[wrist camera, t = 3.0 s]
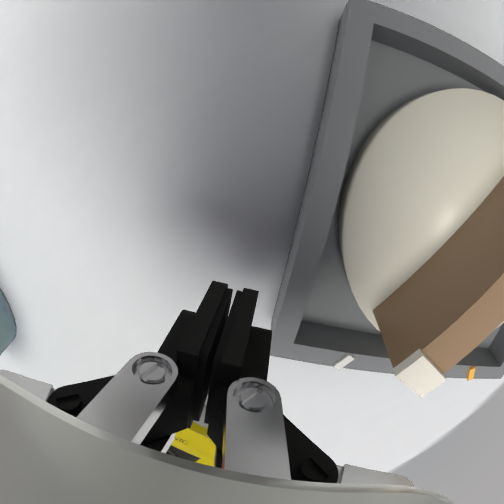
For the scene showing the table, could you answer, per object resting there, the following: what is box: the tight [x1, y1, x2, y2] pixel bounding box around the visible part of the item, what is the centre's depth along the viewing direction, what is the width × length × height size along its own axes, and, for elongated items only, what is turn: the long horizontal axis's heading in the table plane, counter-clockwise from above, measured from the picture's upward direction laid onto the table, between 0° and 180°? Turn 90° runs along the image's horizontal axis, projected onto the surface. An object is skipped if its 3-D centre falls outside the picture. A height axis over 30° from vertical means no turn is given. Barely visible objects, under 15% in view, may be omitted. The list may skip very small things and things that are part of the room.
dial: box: [338, 88, 504, 398], centre depth 10 cm, size 13×13×6 cm
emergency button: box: [166, 396, 216, 467], centre depth 21 cm, size 9×4×15 cm
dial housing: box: [270, 0, 504, 381], centre depth 12 cm, size 16×16×3 cm
